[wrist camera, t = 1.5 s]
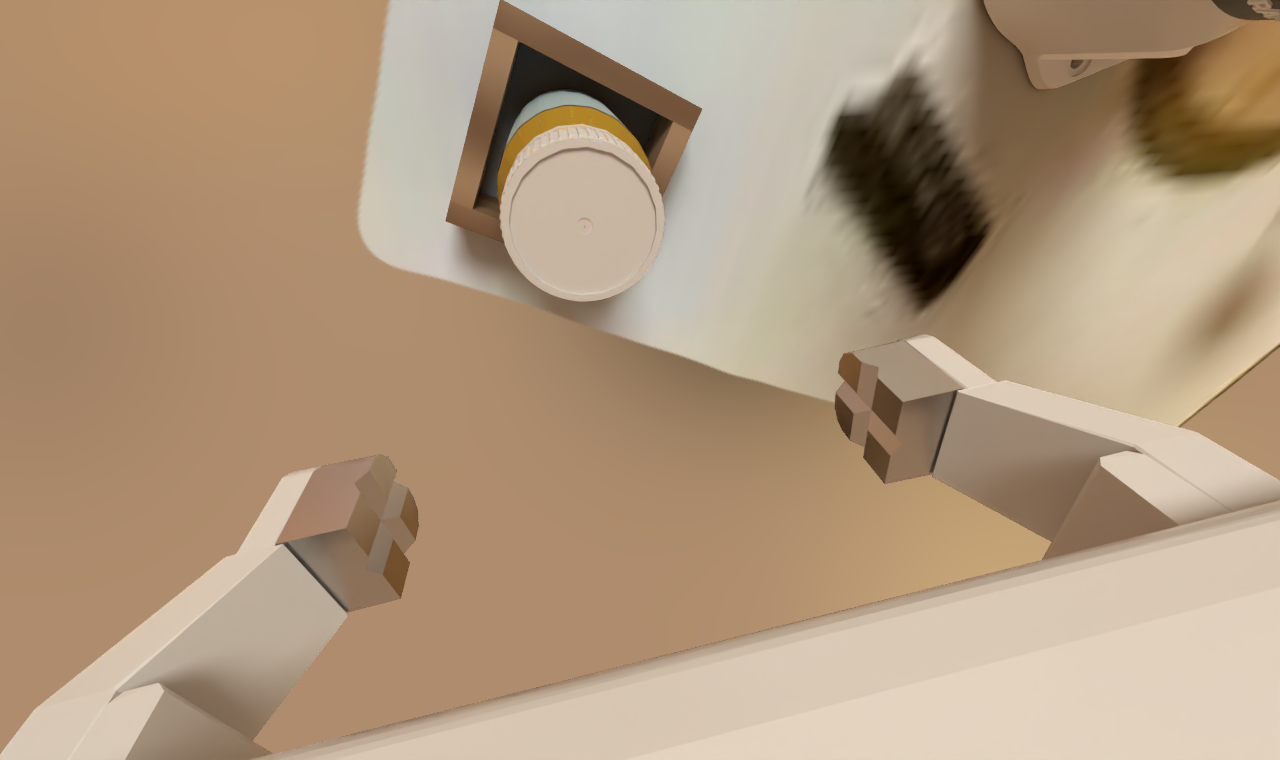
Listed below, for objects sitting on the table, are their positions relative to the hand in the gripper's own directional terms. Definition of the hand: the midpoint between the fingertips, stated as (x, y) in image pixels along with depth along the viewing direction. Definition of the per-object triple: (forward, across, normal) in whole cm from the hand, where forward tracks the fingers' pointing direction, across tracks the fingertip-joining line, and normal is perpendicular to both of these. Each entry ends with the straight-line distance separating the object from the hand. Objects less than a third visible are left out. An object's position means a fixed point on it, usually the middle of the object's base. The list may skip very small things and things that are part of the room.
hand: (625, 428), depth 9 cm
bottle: (+27, 0, 0) cm, 27 cm away
